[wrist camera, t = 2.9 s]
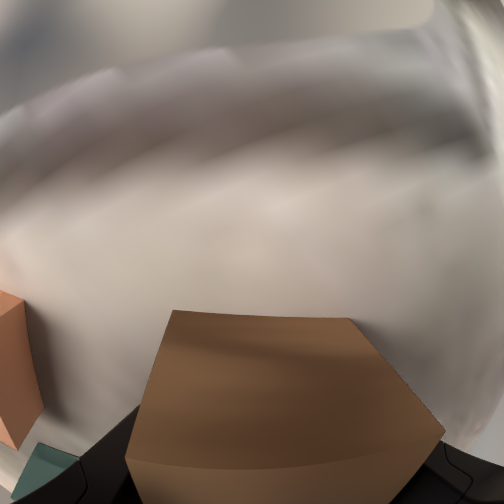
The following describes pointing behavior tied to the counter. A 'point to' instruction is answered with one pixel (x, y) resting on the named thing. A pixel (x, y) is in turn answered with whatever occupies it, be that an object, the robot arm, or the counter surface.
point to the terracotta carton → (16, 374)
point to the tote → (41, 469)
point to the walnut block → (275, 415)
